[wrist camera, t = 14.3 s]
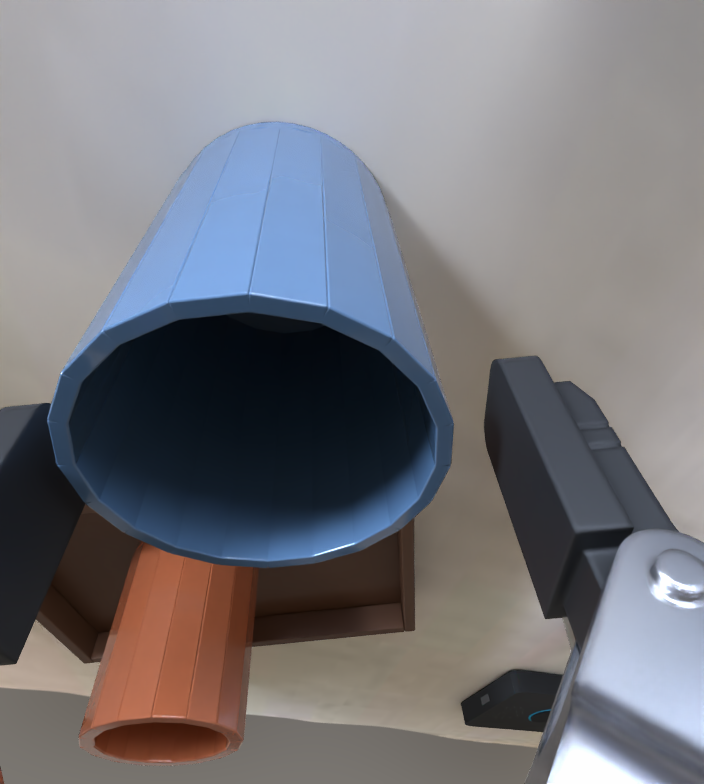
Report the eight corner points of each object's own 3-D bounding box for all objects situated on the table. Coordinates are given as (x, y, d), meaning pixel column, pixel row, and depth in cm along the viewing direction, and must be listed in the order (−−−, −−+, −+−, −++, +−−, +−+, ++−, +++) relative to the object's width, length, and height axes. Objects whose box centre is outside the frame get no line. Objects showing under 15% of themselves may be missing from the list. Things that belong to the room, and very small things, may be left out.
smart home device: (520, 692, 37) (706, 713, 44) (513, 668, 39) (694, 691, 45) (461, 728, 42) (635, 741, 48) (456, 705, 44) (627, 721, 50)
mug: (117, 526, 23) (48, 727, 17) (244, 513, 23) (220, 710, 17) (174, 610, 29) (137, 785, 23) (277, 600, 29) (268, 773, 22)
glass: (207, 338, 17) (139, 581, 11) (139, 135, 13) (-47, 324, 6) (393, 318, 17) (445, 551, 11) (385, 108, 13) (465, 269, 6)
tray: (96, 627, 31) (84, 664, 29) (-45, 478, 21) (-74, 521, 20) (409, 595, 30) (415, 631, 29) (406, 432, 21) (413, 470, 19)
